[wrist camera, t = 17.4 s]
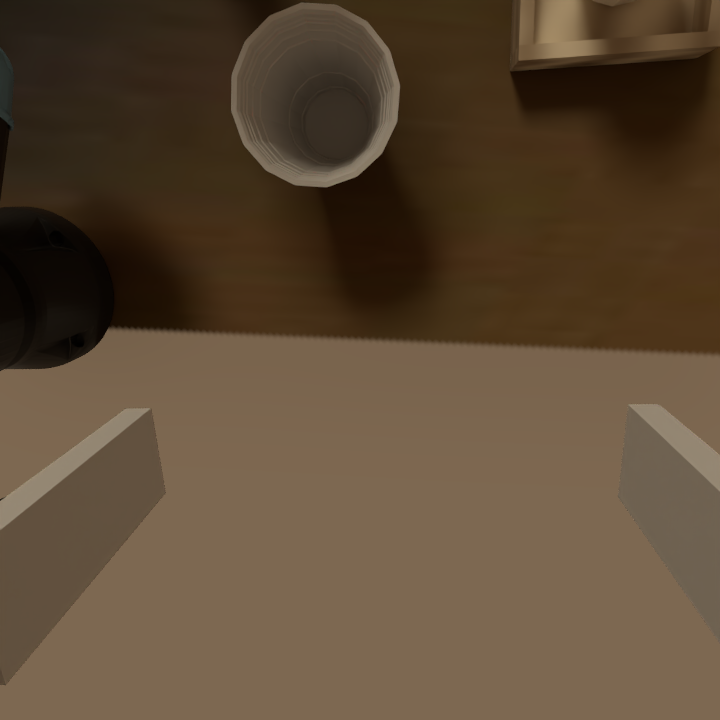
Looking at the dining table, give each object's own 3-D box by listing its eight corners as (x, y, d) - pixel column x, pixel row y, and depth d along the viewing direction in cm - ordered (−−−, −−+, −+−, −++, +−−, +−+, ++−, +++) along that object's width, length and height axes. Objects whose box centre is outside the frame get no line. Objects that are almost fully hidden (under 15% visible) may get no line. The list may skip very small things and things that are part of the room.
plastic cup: (429, 108, 44) (436, 76, 32) (351, 216, 47) (331, 222, 35) (324, 20, 42) (292, -46, 31) (250, 136, 45) (197, 116, 34)
